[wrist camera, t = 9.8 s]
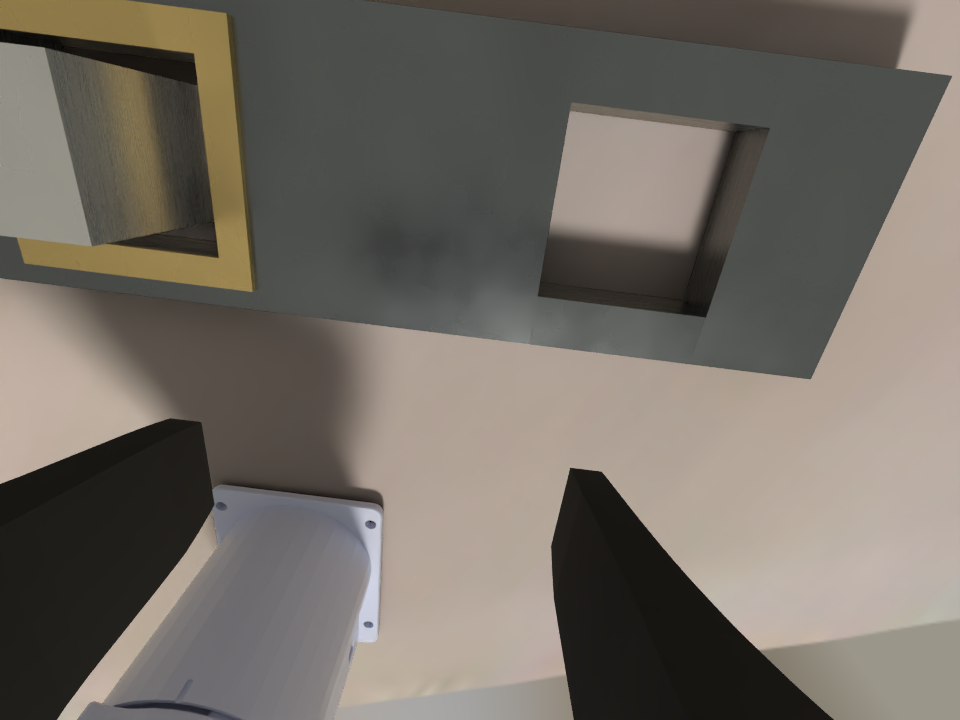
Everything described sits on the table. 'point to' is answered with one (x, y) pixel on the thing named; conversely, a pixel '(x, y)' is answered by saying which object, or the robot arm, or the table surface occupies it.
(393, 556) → the table surface
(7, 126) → the steel block
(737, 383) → the table surface
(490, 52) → the grey slotted board
